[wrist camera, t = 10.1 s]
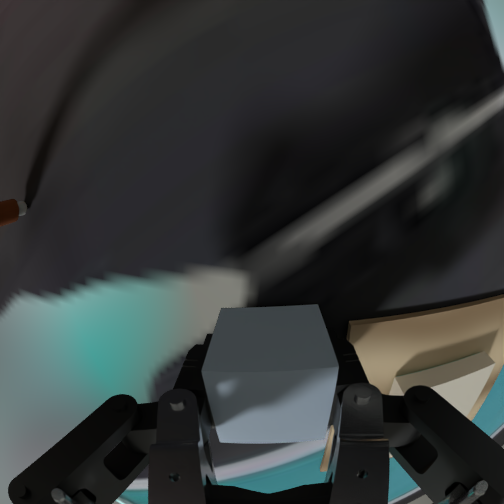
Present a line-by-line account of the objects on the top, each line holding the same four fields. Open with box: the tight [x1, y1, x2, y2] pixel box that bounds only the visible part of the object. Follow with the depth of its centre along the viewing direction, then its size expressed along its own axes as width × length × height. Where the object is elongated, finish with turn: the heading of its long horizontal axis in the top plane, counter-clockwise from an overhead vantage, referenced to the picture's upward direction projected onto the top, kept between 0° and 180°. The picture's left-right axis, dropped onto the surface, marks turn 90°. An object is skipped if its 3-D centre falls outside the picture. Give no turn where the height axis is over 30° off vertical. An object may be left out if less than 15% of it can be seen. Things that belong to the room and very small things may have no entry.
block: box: [201, 304, 339, 443], centre depth 10 cm, size 4×4×4 cm
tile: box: [389, 351, 495, 458], centre depth 12 cm, size 7×2×7 cm
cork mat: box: [320, 294, 504, 472], centre depth 12 cm, size 14×14×1 cm
